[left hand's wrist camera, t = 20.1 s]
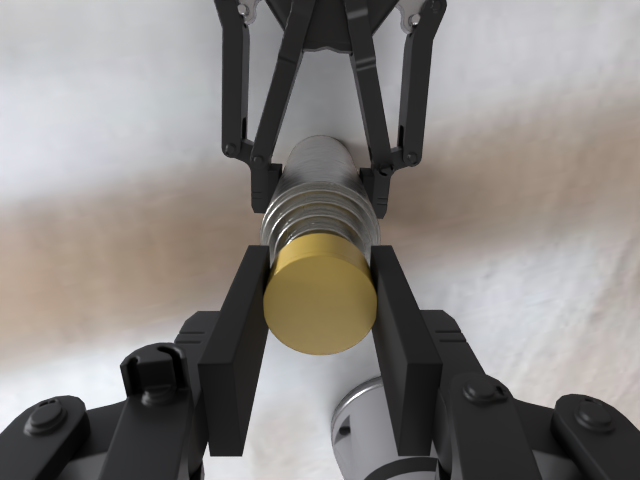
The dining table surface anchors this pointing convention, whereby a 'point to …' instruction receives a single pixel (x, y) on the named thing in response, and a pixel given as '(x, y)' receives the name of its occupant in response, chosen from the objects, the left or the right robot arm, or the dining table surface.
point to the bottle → (320, 199)
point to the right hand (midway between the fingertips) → (316, 254)
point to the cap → (320, 295)
